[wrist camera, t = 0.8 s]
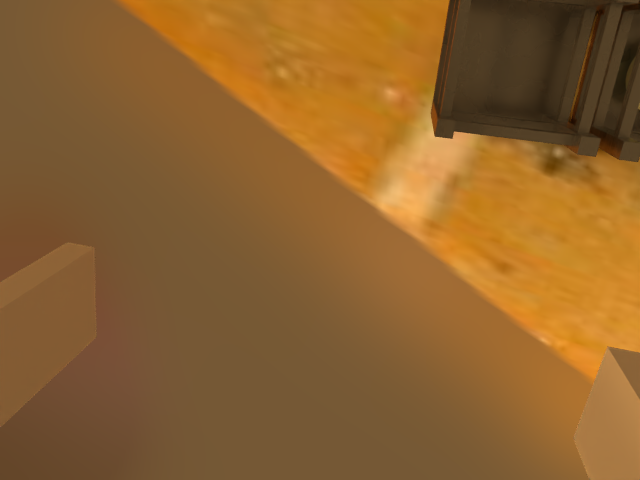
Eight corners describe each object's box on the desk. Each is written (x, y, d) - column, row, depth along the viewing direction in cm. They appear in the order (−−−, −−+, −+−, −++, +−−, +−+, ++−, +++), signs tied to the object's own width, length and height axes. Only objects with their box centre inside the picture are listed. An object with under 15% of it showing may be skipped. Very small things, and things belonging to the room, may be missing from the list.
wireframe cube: (452, -14, 39) (464, -35, 28) (583, -2, 38) (644, -19, 27) (430, 113, 42) (434, 136, 32) (551, 128, 41) (596, 156, 30)
